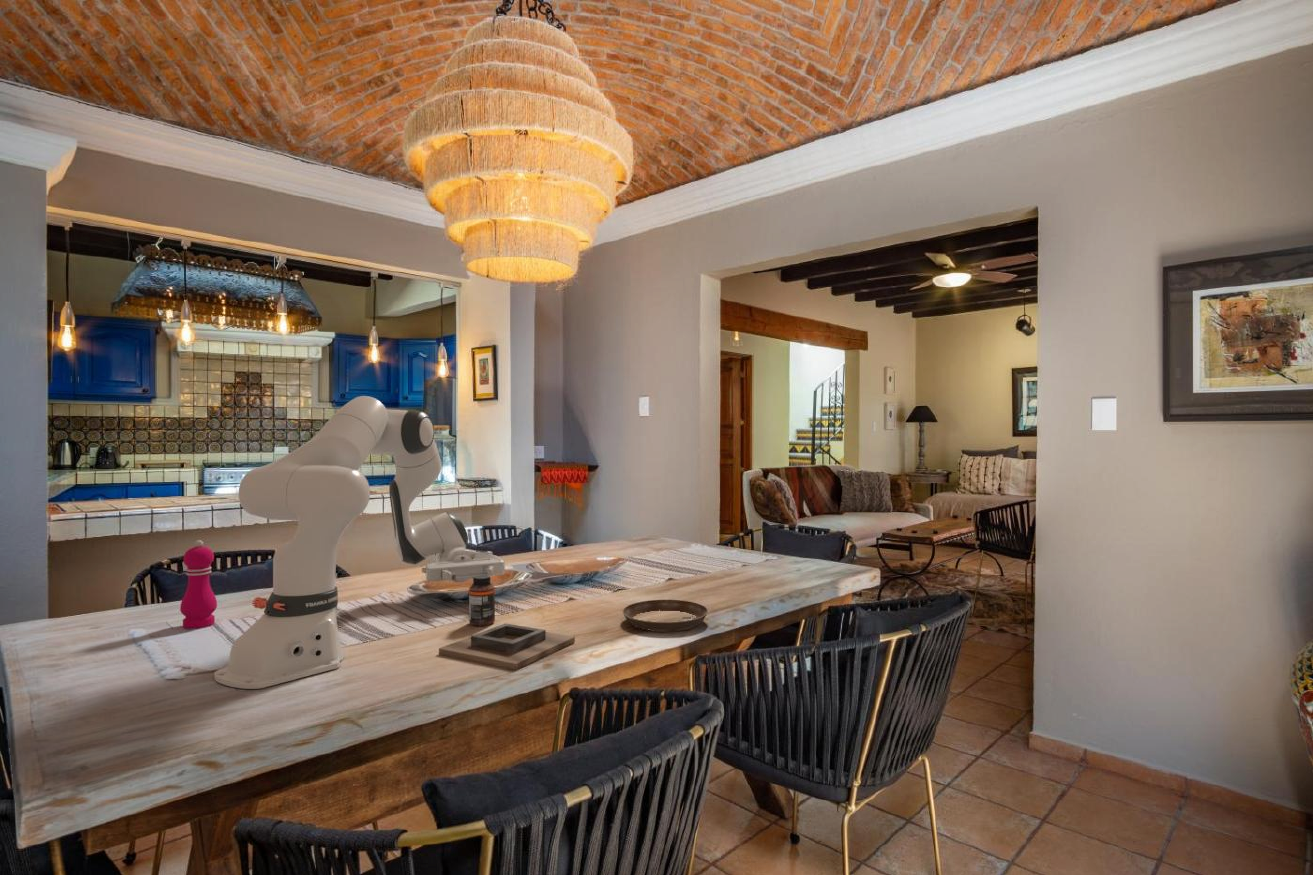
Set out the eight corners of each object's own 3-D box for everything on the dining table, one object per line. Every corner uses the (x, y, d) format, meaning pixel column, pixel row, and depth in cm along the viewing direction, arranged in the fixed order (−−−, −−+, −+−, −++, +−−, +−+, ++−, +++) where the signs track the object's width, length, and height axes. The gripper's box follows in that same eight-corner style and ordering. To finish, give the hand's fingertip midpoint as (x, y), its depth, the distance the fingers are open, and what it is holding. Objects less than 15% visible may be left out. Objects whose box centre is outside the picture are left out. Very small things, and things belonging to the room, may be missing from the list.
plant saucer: (655, 640, 154) (656, 625, 154) (606, 620, 170) (606, 606, 170) (725, 626, 166) (725, 612, 166) (673, 608, 183) (673, 595, 183)
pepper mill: (224, 621, 166) (224, 538, 166) (201, 630, 159) (201, 542, 159) (196, 620, 167) (196, 537, 167) (172, 628, 160) (172, 542, 160)
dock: (516, 670, 134) (516, 653, 134) (438, 654, 143) (438, 638, 143) (574, 642, 151) (574, 627, 151) (502, 629, 161) (502, 616, 161)
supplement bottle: (482, 618, 170) (482, 572, 170) (500, 622, 167) (500, 575, 167) (463, 624, 165) (463, 576, 165) (481, 628, 162) (482, 579, 162)
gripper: (420, 556, 185) (429, 566, 172) (496, 550, 194) (510, 559, 182) (420, 580, 185) (429, 591, 172) (496, 573, 194) (510, 583, 182)
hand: (471, 575), depth 177 cm, fingers open, 8 cm apart
